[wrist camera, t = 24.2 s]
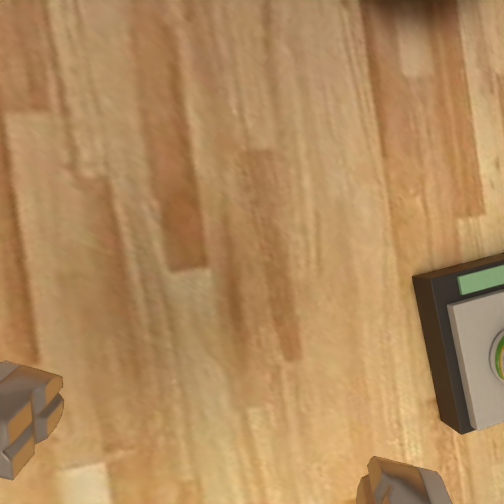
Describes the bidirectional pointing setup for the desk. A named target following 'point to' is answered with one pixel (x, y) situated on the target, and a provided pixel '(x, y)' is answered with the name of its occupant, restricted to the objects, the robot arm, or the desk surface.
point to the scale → (464, 340)
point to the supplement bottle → (498, 357)
